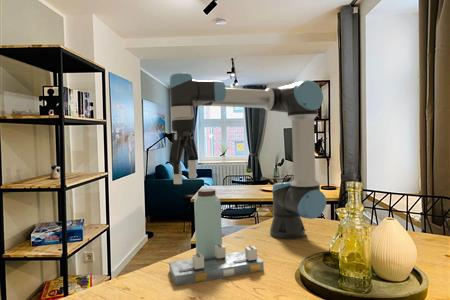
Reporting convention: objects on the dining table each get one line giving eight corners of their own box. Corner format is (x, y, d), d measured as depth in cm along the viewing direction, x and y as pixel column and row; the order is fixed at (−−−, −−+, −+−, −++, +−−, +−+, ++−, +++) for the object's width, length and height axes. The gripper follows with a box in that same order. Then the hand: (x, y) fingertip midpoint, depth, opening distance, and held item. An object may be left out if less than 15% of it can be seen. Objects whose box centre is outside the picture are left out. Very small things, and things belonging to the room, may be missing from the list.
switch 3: (253, 256, 114) (253, 244, 114) (257, 259, 111) (256, 247, 111) (245, 257, 113) (245, 246, 113) (248, 260, 110) (248, 248, 110)
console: (250, 258, 122) (249, 249, 122) (263, 270, 110) (263, 261, 110) (169, 271, 113) (169, 261, 113) (175, 286, 101) (175, 275, 101)
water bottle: (219, 262, 119) (216, 192, 118) (192, 261, 121) (189, 192, 120) (225, 252, 128) (222, 187, 127) (200, 252, 130) (197, 187, 129)
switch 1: (202, 264, 109) (201, 252, 108) (204, 267, 106) (203, 255, 106) (192, 265, 108) (192, 253, 108) (194, 269, 105) (194, 256, 105)
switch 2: (223, 254, 117) (222, 243, 117) (225, 257, 114) (225, 245, 114) (214, 255, 116) (214, 244, 116) (217, 258, 113) (216, 247, 113)
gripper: (186, 120, 129) (188, 176, 130) (156, 118, 104) (159, 186, 105) (204, 119, 127) (207, 176, 128) (178, 117, 103) (182, 186, 103)
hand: (185, 181), depth 117 cm, fingers open, 13 cm apart
